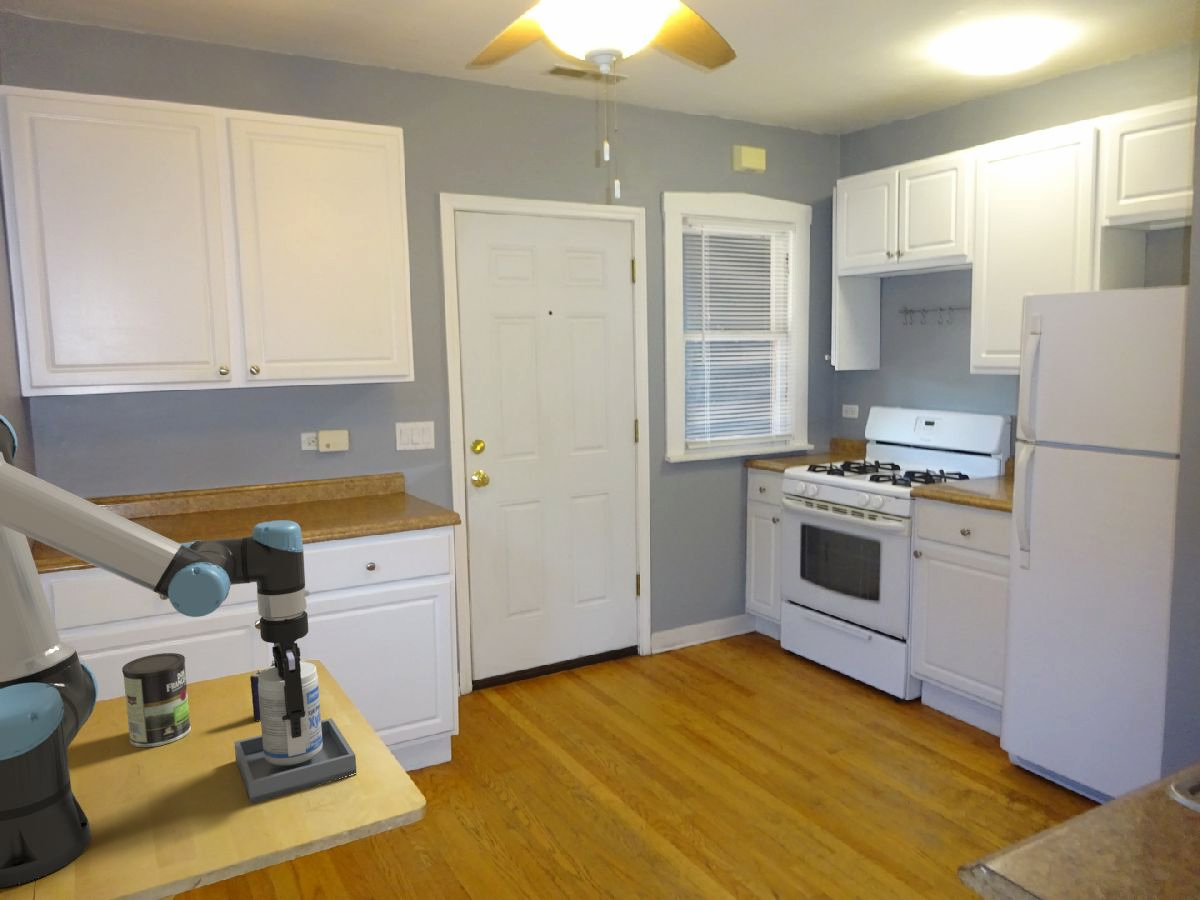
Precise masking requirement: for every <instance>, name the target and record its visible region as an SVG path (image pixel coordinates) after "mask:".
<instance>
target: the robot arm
mask: <svg viewBox="0 0 1200 900" xmlns="http://www.w3.org/2000/svg"><path fill="white" fill-rule="evenodd" d="M17 450H18V437H17V434H16V431H15V429H14V428H13V426H12V424H11V423H10V421H8V419H6V417H5V416H4V415H2V414H1V413H0V889H1V888H7V887H8V888H9V887H13V885H14V886H17V885H16V884H18V885H20V884H19V883H22V884H25V883H24V882H26V883H28V882H31V880H32V881H35V880H37V879H36V878H38V877H40V878H42V877H41V876H43V877H45V876H47V875H46V874H48V875H50V874H52V873H54V872H56V871H58V870H60V869H62V868H63V867H65V866H67V865H69V864H70V863H71V862H73V861H74V860H75V859H77V858H78V857H80V856H81V854H82V853H83V852H84V851H86V849H87V848H88V847H89V845H90V842H91V839H92V833H91V826H90V825H91V824H90V821H89V819H88V816H86V813H85V812H84V810H83V809H82V806H81V805H80V803H79V801H78V799H77V797H76V796H75V794H74V793H73V791H72V783H71V773H70V766H69V757H68V756H69V755H68V748H69V747H70V746H71V744H72V743H73V741H74V739H75V738H76V737H77V735H78V734H79V732H80V730H81V729H82V728H83V726H85V724H86V723H87V721H88V720H89V718H90V717H91V715H92V713H93V712H94V709H95V706H96V703H97V698H98V693H99V688H98V682H97V679H96V676H95V674H94V673H93V671H92V669H91V668H90V667H89V666H88V665H87V664H86V663H84V662H82V661H80V658H79V656H78V653H77V650H76V648H75V646H74V645H71V644H69V643H66V642H63V641H62V640H61V638H60V635H59V632H58V629H57V626H56V623H55V619H54V618H53V615H52V612H51V608H50V606H49V602H48V599H47V596H46V593H45V590H44V587H43V584H42V581H41V578H40V576H39V572H38V568H37V565H36V563H35V561H34V557H33V553H32V551H31V548H30V545H29V542H28V539H27V537H28V538H31V539H33V540H35V541H38V542H40V543H42V544H44V545H47V546H49V547H51V548H53V549H56V550H58V551H61V552H62V553H65V554H66V555H69V556H71V557H74V558H77V559H79V560H81V561H83V562H86V563H88V564H90V565H92V566H95V567H97V568H98V569H101V570H104V571H105V572H108V573H111V574H113V575H115V576H117V577H120V578H122V579H125V580H126V581H129V582H131V583H133V584H136V585H138V586H141V587H143V588H145V589H147V590H149V591H152V592H154V593H155V594H159V595H161V596H163V597H165V598H167V599H168V600H169V602H170V604H171V605H172V607H173V608H174V609H175V610H176V611H177V612H178V613H180V614H181V615H184V616H186V617H190V618H191V617H192V618H201V617H204V616H208V615H210V614H213V613H214V612H215V611H216V610H218V608H219V607H221V605H222V604H223V603H224V602H225V600H226V599H227V598H228V596H229V594H230V589H231V586H234V585H243V584H251V583H256V598H257V609H258V610H257V611H258V615H259V616H261V617H260V618H259V630H260V638H261V640H262V641H263V642H266V643H269V644H273V646H272V648H271V650H272V656H273V661H274V664H275V667H276V668H278V676H279V677H280V678H282V679H283V681H285V686H284V695H285V706H286V716H282V721H284V720H286V734H287V747H288V756H293V755H298V754H302V753H306V746H305V732H304V718H303V717H305V711H304V702H303V693H302V683H301V673H300V672H301V668H300V662H301V648H300V647H299V646H298V642H296V641H297V640H299V639H302V638H304V637H305V636H307V635H308V634H309V616H308V612H306V609H307V598H306V597H308V596H310V590H308V589H307V590H306V575H305V574H306V573H305V558H304V557H305V556H304V554H305V553H304V546H303V544H304V543H303V538H302V537H303V536H302V529H301V527H300V525H299V523H297V522H295V521H293V520H287V519H286V520H285V519H284V520H283V519H282V520H279V519H278V520H270V521H263V522H259V523H257V524H255V525H254V527H252V528H253V529H252V534H251V535H250V536H249V535H248V536H247V537H246V536H245V537H237V538H236V537H235V538H223V539H222V538H221V539H211V540H210V539H207V540H199V539H196V540H194V541H190V542H183V543H180V542H177V541H175V540H173V539H171V538H168V537H167V536H164V535H162V534H160V533H158V532H156V531H153V530H152V529H149V528H147V527H145V526H143V525H140V524H138V523H137V522H135V521H132V520H129V519H128V518H125V517H124V516H121V515H119V514H117V513H115V512H113V511H111V510H108V509H106V508H104V507H102V506H100V505H98V504H96V503H93V502H91V501H89V500H87V499H85V498H83V497H81V496H78V495H76V494H74V493H72V492H70V491H68V490H66V489H63V488H61V487H59V486H57V485H55V484H53V483H50V482H48V481H46V480H45V479H42V478H40V477H37V476H35V475H33V474H31V473H29V472H26V471H24V470H22V469H21V468H18V467H16V464H15V461H14V460H15V458H16V455H17V452H18V451H17ZM283 671H284V672H283ZM49 873H50V874H49ZM34 879H35V880H34ZM38 879H39V878H38Z"/></svg>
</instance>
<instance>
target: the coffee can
mask: <svg viewBox="0 0 1200 900" xmlns="http://www.w3.org/2000/svg"><path fill="white" fill-rule="evenodd" d="M121 671H122V675H123V682H124V684H123V685H124V692H125V693H124V694H125V702H126V713H127V722H128V731H129V733H128V734H129V743H130V745H132V746H134V747H137V748H153V747H161V746H164V745H167V744H172V743H174V742H178V741H179V740H181V739H183V738H184V737H185V736H187V735H188V734H189V733H190V732H191V730H192V727H191V719H190V708H189V697H188V687H187V686H188V685H187V674H186V657H185V655H184V654H180V653H175V652H168V653H167V652H166V653H165V652H164V653H163V652H162V653H156V654H150V655H146V656H141V657H138V658H136V659H134V660H131V661H129V662H127V663H126V664H124V665H123V666H122V669H121Z"/></svg>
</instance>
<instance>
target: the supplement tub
mask: <svg viewBox="0 0 1200 900" xmlns="http://www.w3.org/2000/svg"><path fill="white" fill-rule="evenodd" d="M300 668H301V672H300V673H301V683H302V693H303V702H304V711H305V717H303V718H304V732H305V746H306V753H302V754H298V755H293V756H288V747H287V734H286V720H284V721H282V716H286V706H285V695H284V686H285V681H283V679H282V678H280V677H279V676H278V668H276V667H275V666H272V667H270V666H269V667H268V668H265V670H264V669H262V672H261V673H260V674H259V676H258V681H259V683H258V692H259V704H260V717H261V721H260V726H261V727H260V728H261V735H262V740H263V752H264V758H265V759H266V760H267V761H268V762H269V763H271V764H274V765H281V766H283V765H293V764H298V763H302V762H305V761H307V760H309V759H311V758H313V757H315V756H316V755H317V754H318V753H319V752H320V751H321V749H322V745H323V743H322V728H321V721H322V718H321V717H322V716H321V703H320V691H319V689H320V688H319V678H318V673H317V672H318V671H317V666H316V665H315V664H314V663H311V662H307V661H300ZM283 672H284V671H283Z"/></svg>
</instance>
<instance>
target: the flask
mask: <svg viewBox="0 0 1200 900" xmlns="http://www.w3.org/2000/svg"><path fill="white" fill-rule="evenodd" d="M272 666H275V664H274V660H272V661H271V665H270V666H269V667H272ZM265 669H266V668H265ZM265 669H263V670H265ZM263 670H262V671H263ZM262 671H261V669H259V670H257V672H254V673H252V674H251V675H250V677H249V678H250V679H249V680H250V689H251V699H252V702H251V703H252V711H253V713H252V714H253V720H254V719H255V720H258V721H257V722H260V721H259V720H261V717H260V704H259V692H258V683H259V681H258V676H259V674H260V673H261V672H262ZM255 720H254V721H255Z"/></svg>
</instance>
